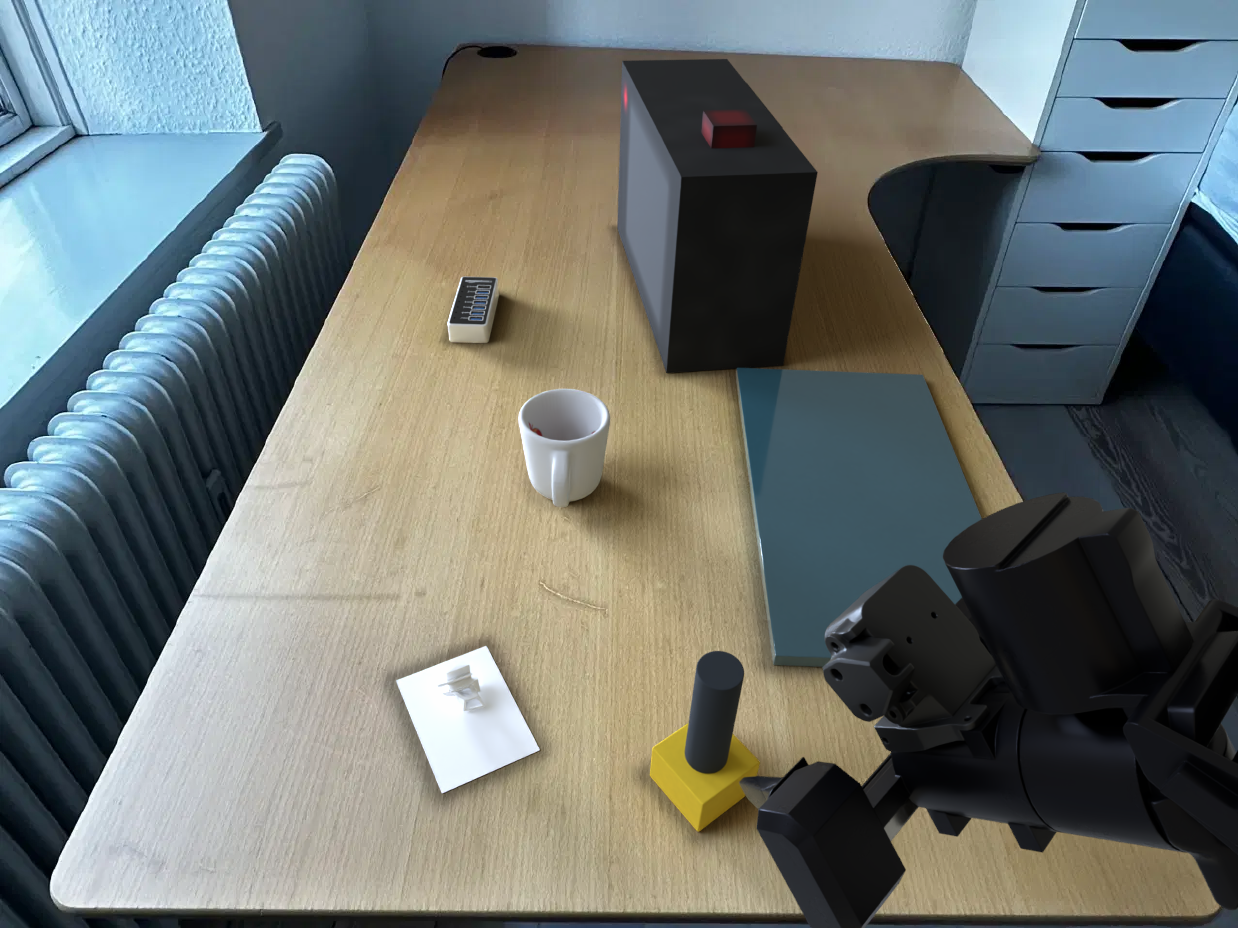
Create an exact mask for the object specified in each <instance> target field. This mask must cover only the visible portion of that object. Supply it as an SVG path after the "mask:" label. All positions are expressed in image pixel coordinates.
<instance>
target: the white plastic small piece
mask: <svg viewBox="0 0 1238 928" xmlns="http://www.w3.org/2000/svg"><path fill="white" fill-rule="evenodd" d="M445 679H446V682H444V683H440V684H438V685H437V687H438V688H440V689H439V690H440V694H441V695H443V696H445V697H454V696H455V697H456V699H457V701H458V703H459V705H460V708H461V710H462V711H463V712H467V711H472V710H476V709H481V708H485V707H486V704H485V703H484V701H483V699H482V697H481V696H480V694H479V693H480V692H481V686H480V681H479V677H478V675H477V674H476V675H473V673H472V672H471V665H470V664H457V665H455V666H454V667H453V668H452V669H450V670H449V671H448V672H447V673H446V674H445Z"/></svg>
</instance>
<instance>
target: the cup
mask: <svg viewBox="0 0 1238 928" xmlns="http://www.w3.org/2000/svg"><path fill="white" fill-rule="evenodd" d="M518 426H519V427H518V428H519V432H520V438H521V443H522V449H523V453H524V460H525V464H526V470H527V474H528V478H529V481H530V484H531V485H532V487H533V488H534V490H535V491H536V492H537V493H538V494H540V495H541V496H543V497H544V498H545V499H548V500H550V501H551V500H552V504H553V506H554V507H555V508H566V507H568V506H569V503H570V502H575V501H579V500H582V499H584V498H586V497H588V496H589V495H591V494H592V493H593V492H594V491H595V490H596V488H597V487H598V486H599V484H600V482H601V479H602V475H603V470H604V466H605V465H604V464H605V459H606V451H607V446H608V439H609V432H610V427H611V413H610V410H609V408H608V407H607V405H606V403H604V402H603V400H602V399H600V398H599V397H597V396H596V395H594V394H592V393H590V392H587V391H584V390H580V389H574V388H555V389H549V390H546V391H542V392H540V393H538V394H535V395H534V396H532V397H531V398H529V399H528V400H527V401H526V402H524V404H523V405H522V407H521V408H520V410H519V413H518Z"/></svg>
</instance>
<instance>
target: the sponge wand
mask: <svg viewBox="0 0 1238 928" xmlns="http://www.w3.org/2000/svg"><path fill="white" fill-rule="evenodd" d="M695 666H696V667H695V674H694V681H693V687H692V694H691V695H692V696H691V703H690V710H689V717H688V723H686V724H684V725H683V726H682V727H681V728H678V729H677V730H676V731H674V732H673V733H671V734H670V735H668V736H667V737H665V738H664V739H663V740H661V741H660V742H658V743H657V744H655V745H654V746H653V747H652V748H651V758H650V759H651V760H650V770H649V777H650V778H651V779H652V781H654V782H655V784H656V785H657V786H658V787H659V788H660V790H661V791H662V792H663V793H664V795H666V797H667V799H669V800H670V802H671V803H672V804H673V805H674V806H675V807H676V808H677V809H678V811H679V812H680V813H681V814H682V815H683V816H684V818H685V819H686V820H687V822H689V824H690V825H691V826H692V827H693V828H694V830H696V832H698V833H699V832H701V831H702V830H703V829H705V828H706V827H707V826H709V825H711V823H712V822H714V821H715V820H716V819H718V818H719V817H720V816H721V815H723V814H724V813H725V812H727V811H728V810H729V809H730V808H732V807H733V806H735V805H736V804H737V803H739V802H740V801H741V800H742V799H743V798H745V797H746V795H745V794H744V792H743V790H742V788H741V786H740V784H739V782H740V781H741V780H742V779H743V778H744V777H753V776H758V772H759V769H760V766H761V765H760V764H761V761H760V760H759V759H758V757H756V756H755V755H754V753H753V752H752V751H750V750H749V748H747V747H746V745H745V744H744V743H743V742H741V740H740V739H739V738H738V737H737V736H736V735H735V734H734V730H735V724H736V719H737V713H738V709H739V705H740V704H739V703H740V699H741V695H742V694H741V693H742V689H743V684H744V678H745V668H744V665H743V663H742V662H741V660H739V658H737V657H736V656H735V655H734V654H731V653H729V652H727V651H723V650H712V651H708V652H706V653H704V654H703V655H702V656H701V657H700V658H699V659H698V660H697V663H696V665H695Z"/></svg>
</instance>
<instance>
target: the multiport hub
mask: <svg viewBox="0 0 1238 928" xmlns="http://www.w3.org/2000/svg"><path fill="white" fill-rule="evenodd" d="M499 298H500V290H499V278H498V277H494V276H462V277H460V280H459V283H458V287H457V290H456V294H455V296H454V300H453V303H452V307H451V310H450V313H449V317H448V321H447V331H448V339H449V342H451V343H462V344H463V343H465V344H466V343H467V344H468V343H469V344H487V343H489V342H490V337H491V332H492V328H493V324H494V319H495V315H496V311H497V307H498V301H499Z"/></svg>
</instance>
